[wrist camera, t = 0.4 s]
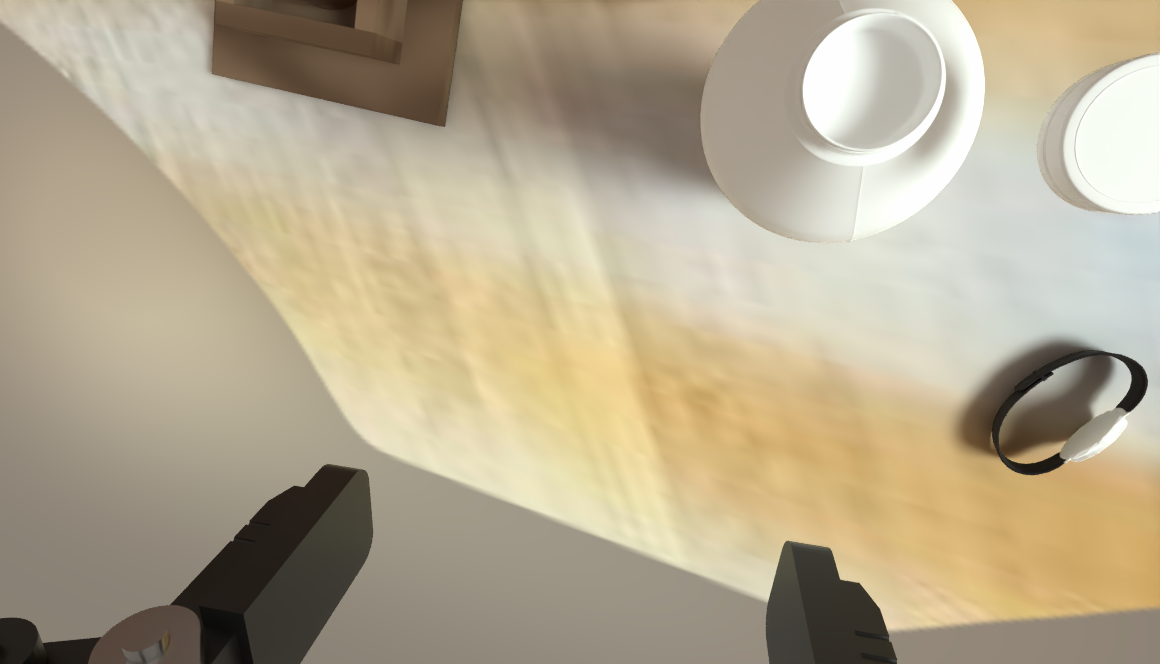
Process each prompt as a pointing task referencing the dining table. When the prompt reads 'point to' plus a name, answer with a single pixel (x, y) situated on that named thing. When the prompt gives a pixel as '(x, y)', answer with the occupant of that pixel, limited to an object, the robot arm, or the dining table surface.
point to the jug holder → (344, 51)
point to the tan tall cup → (332, 4)
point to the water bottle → (899, 118)
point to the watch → (1089, 435)
